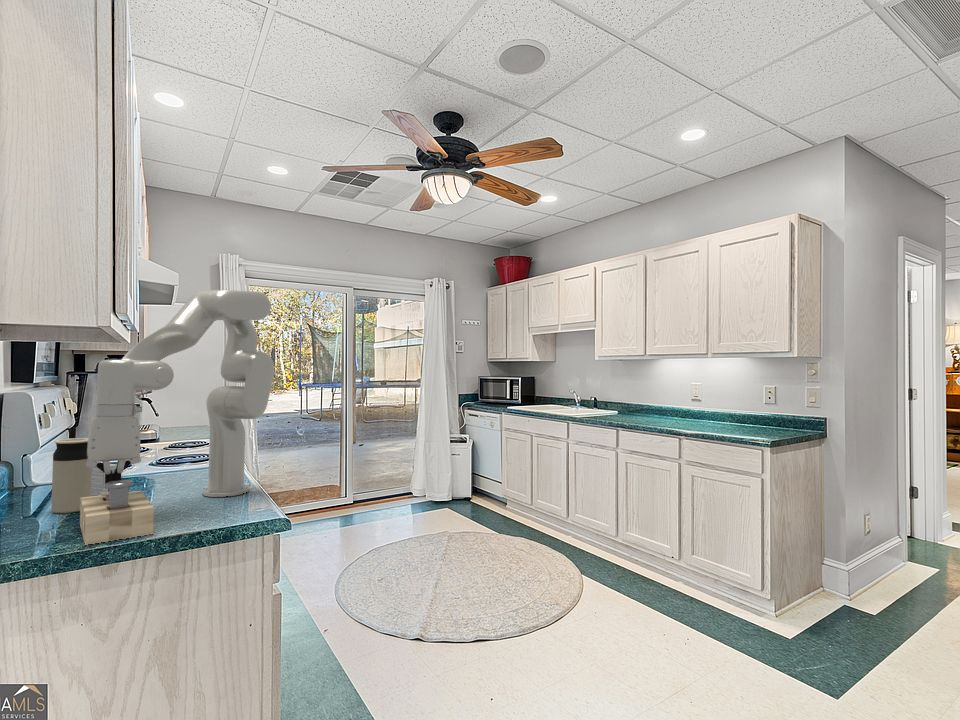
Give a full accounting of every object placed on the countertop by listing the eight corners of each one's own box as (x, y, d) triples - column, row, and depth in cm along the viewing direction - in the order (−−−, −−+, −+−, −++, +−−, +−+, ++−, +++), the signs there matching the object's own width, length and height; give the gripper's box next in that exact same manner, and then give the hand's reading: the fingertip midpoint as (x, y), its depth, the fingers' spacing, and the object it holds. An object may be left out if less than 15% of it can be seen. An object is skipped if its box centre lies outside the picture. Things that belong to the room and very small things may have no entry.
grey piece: (102, 511, 114) (103, 482, 114) (130, 507, 118) (131, 479, 118) (104, 516, 110) (105, 486, 110) (133, 512, 114) (134, 483, 114)
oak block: (79, 523, 121) (80, 497, 121) (140, 514, 129) (140, 490, 129) (84, 545, 106) (85, 516, 106) (153, 534, 114) (153, 507, 114)
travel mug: (87, 511, 131) (89, 440, 132) (47, 515, 128) (49, 442, 128) (93, 504, 138) (95, 437, 139) (55, 507, 135) (57, 438, 135)
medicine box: (118, 494, 150) (118, 464, 150) (103, 497, 146) (104, 466, 146) (96, 492, 152) (97, 462, 152) (81, 495, 148) (82, 465, 148)
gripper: (150, 410, 130) (147, 483, 129) (75, 411, 120) (71, 491, 119) (155, 411, 124) (152, 488, 123) (76, 413, 114) (73, 497, 114)
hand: (112, 489), depth 121 cm, fingers closed
